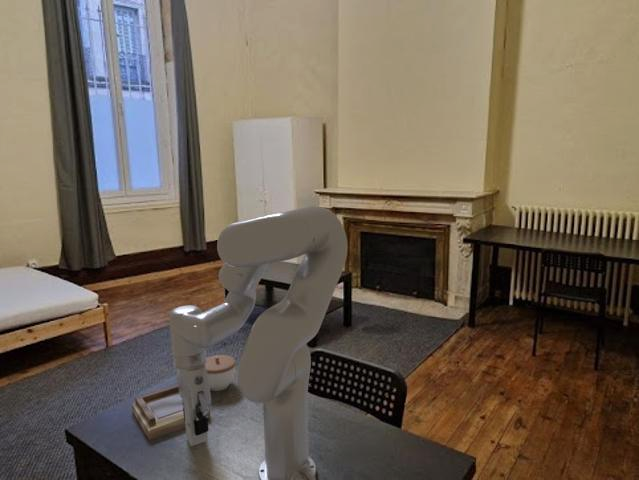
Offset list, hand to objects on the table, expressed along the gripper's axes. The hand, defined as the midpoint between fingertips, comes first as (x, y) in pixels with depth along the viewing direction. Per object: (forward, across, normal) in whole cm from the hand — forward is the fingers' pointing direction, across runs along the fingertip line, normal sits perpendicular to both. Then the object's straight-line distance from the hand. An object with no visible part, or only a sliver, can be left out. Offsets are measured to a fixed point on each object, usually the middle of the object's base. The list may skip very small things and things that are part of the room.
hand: (196, 425), depth 112 cm
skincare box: (+3, 0, 0) cm, 3 cm away
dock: (+4, +16, +1) cm, 16 cm away
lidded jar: (+4, +23, -16) cm, 28 cm away
